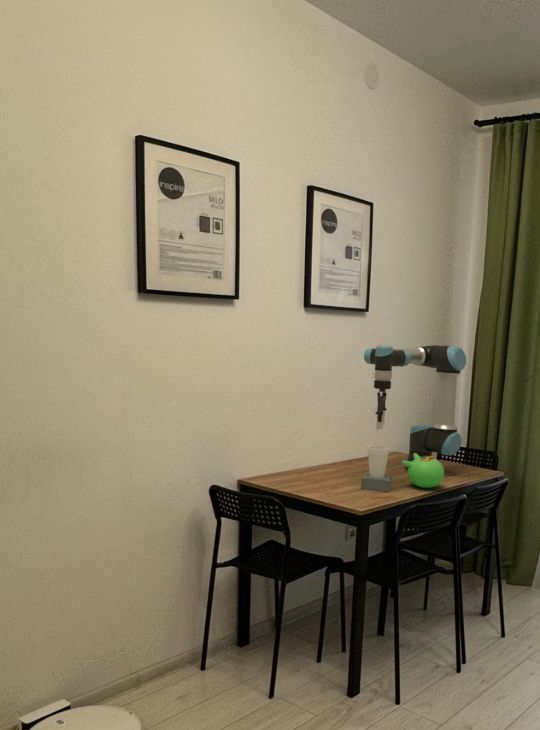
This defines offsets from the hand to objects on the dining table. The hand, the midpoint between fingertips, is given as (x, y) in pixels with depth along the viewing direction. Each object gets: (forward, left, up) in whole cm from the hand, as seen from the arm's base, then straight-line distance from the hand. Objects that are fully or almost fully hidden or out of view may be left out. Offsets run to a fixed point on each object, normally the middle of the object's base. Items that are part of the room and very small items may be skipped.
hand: (380, 427), depth 281 cm
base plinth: (+3, 0, -27) cm, 27 cm away
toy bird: (-8, +21, -27) cm, 35 cm away
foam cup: (+3, 0, -22) cm, 22 cm away
